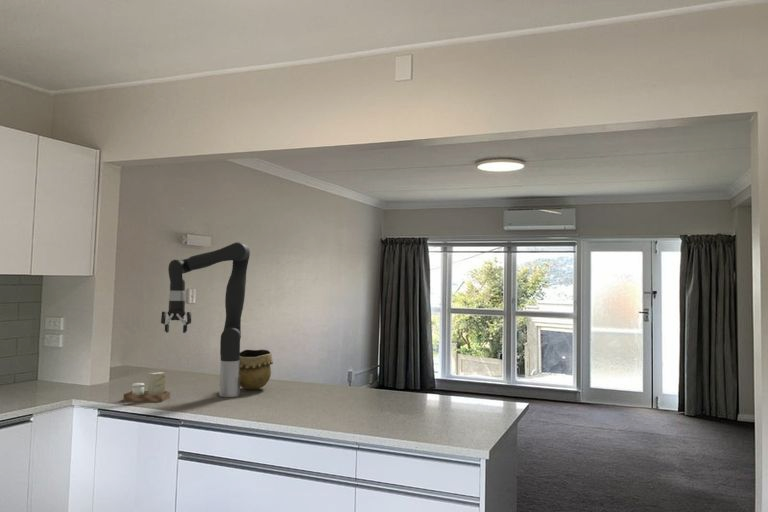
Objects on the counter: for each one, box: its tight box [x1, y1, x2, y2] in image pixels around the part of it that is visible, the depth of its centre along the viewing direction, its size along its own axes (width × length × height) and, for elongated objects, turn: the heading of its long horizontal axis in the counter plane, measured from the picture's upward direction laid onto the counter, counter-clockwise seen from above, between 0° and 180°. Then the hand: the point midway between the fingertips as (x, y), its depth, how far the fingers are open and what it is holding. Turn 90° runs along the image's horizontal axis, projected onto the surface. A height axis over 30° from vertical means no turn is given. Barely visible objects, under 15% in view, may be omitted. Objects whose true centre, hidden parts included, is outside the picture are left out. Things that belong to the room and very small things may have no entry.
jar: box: [131, 382, 145, 394], centre depth 266 cm, size 5×5×7 cm
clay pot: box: [239, 348, 274, 391], centre depth 299 cm, size 21×21×20 cm
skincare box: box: [147, 371, 166, 395], centre depth 267 cm, size 6×4×12 cm
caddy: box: [122, 390, 171, 403], centre depth 266 cm, size 18×9×4 cm, turn 90°
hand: (175, 332), depth 285 cm, fingers open, 8 cm apart
